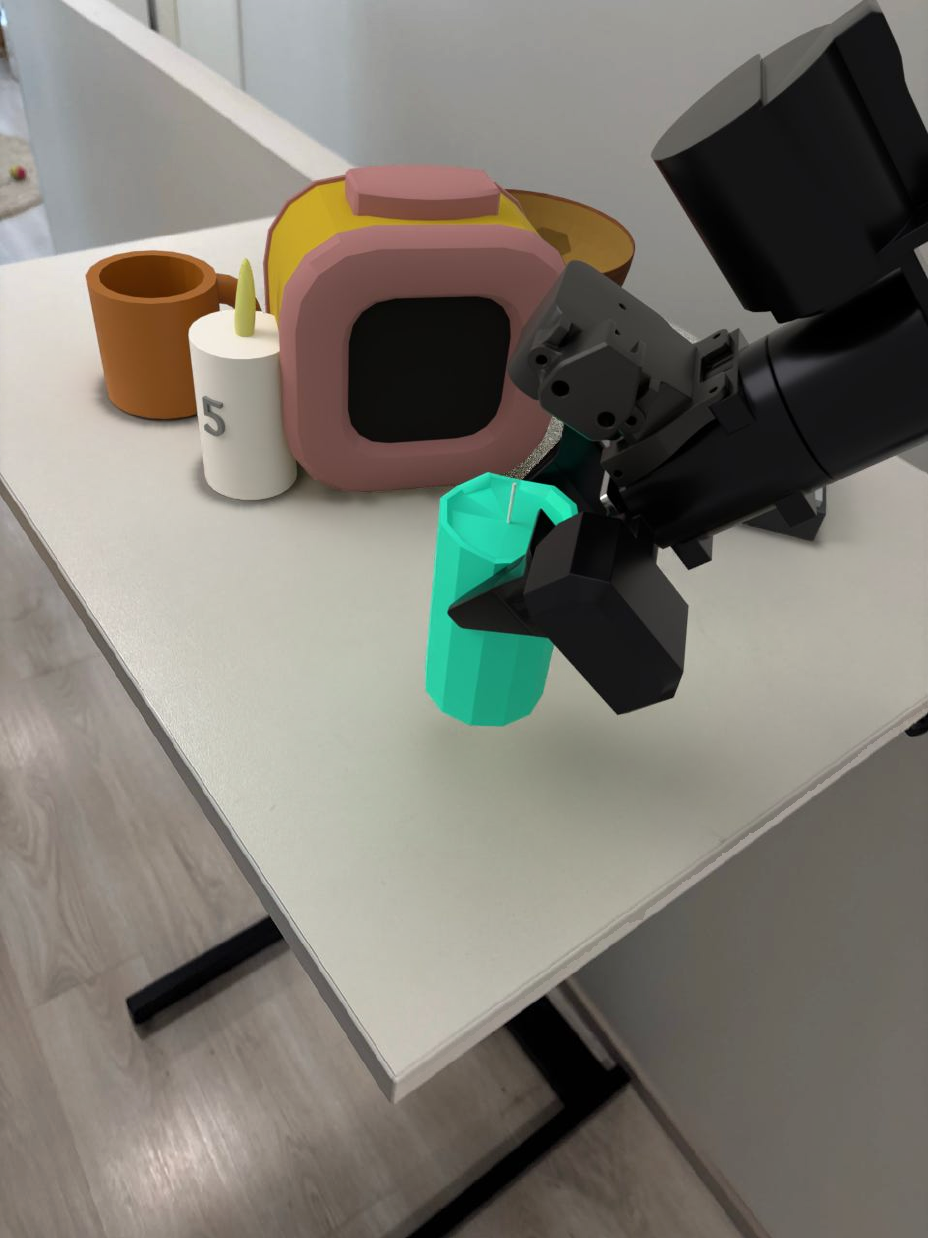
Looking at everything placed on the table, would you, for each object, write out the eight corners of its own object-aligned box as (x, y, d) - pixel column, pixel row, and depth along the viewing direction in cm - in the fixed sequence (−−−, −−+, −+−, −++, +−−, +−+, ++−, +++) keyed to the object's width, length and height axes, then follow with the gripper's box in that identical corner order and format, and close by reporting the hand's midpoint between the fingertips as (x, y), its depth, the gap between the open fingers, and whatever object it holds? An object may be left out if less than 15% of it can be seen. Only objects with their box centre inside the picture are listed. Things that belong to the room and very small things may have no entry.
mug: (272, 417, 69) (267, 304, 63) (104, 423, 66) (80, 305, 60) (264, 357, 75) (258, 249, 69) (109, 360, 72) (89, 247, 66)
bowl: (499, 417, 72) (518, 296, 65) (372, 322, 81) (376, 207, 74) (649, 363, 81) (680, 251, 74) (519, 283, 90) (535, 176, 83)
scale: (815, 466, 72) (830, 432, 70) (813, 541, 65) (830, 506, 63) (689, 435, 73) (700, 401, 71) (674, 505, 66) (686, 470, 64)
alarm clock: (288, 509, 61) (277, 216, 48) (268, 419, 69) (253, 143, 55) (546, 487, 66) (601, 214, 53) (501, 405, 74) (540, 147, 60)
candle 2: (567, 683, 46) (617, 489, 37) (488, 749, 42) (523, 552, 34) (479, 619, 48) (507, 425, 40) (398, 677, 45) (409, 478, 36)
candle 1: (183, 479, 62) (153, 264, 52) (243, 436, 67) (227, 230, 56) (258, 513, 61) (243, 298, 50) (314, 467, 65) (312, 259, 55)
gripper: (698, 127, 35) (409, 337, 44) (665, 348, 22) (261, 585, 31) (828, 353, 40) (543, 501, 49) (865, 646, 27) (465, 778, 36)
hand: (469, 572), depth 41 cm, fingers closed on candle 2, 6 cm apart
